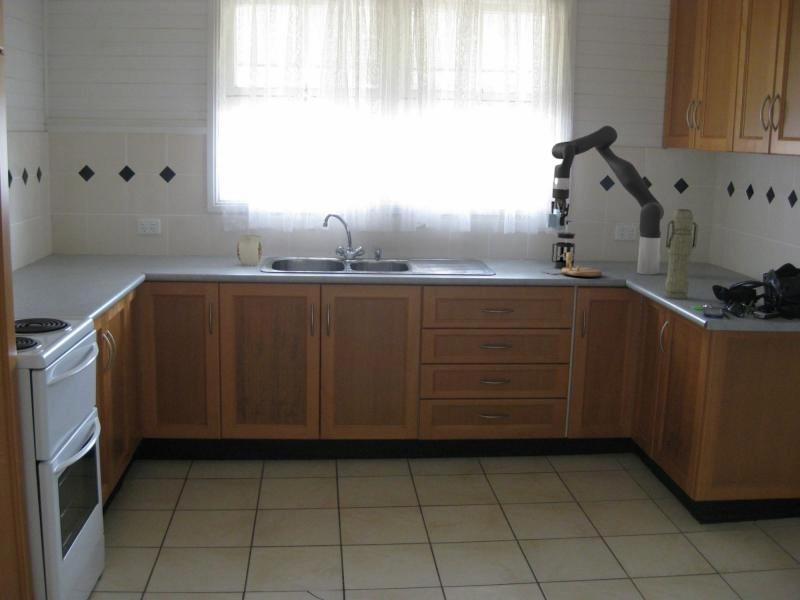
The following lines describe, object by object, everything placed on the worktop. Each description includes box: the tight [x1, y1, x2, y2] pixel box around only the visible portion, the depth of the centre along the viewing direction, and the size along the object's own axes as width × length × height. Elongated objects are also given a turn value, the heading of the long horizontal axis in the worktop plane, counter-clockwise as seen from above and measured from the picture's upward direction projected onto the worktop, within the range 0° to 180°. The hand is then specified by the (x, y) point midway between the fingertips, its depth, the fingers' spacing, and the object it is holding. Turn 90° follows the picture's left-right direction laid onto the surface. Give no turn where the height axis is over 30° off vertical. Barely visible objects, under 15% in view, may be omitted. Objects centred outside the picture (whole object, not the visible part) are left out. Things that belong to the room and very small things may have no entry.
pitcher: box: [236, 234, 262, 267], centre depth 398 cm, size 11×18×14 cm, turn 7°
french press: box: [551, 219, 577, 270], centre depth 418 cm, size 12×9×23 cm
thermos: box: [664, 208, 699, 300], centre depth 345 cm, size 9×12×35 cm
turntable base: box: [571, 275, 592, 278], centre depth 398 cm, size 9×9×1 cm
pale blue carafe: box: [545, 209, 567, 231], centre depth 398 cm, size 10×6×9 cm, turn 117°
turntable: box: [561, 251, 603, 277], centre depth 397 cm, size 18×18×8 cm
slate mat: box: [540, 269, 565, 276], centre depth 404 cm, size 10×10×1 cm
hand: (558, 224), depth 400 cm, fingers closed on pale blue carafe, 5 cm apart
